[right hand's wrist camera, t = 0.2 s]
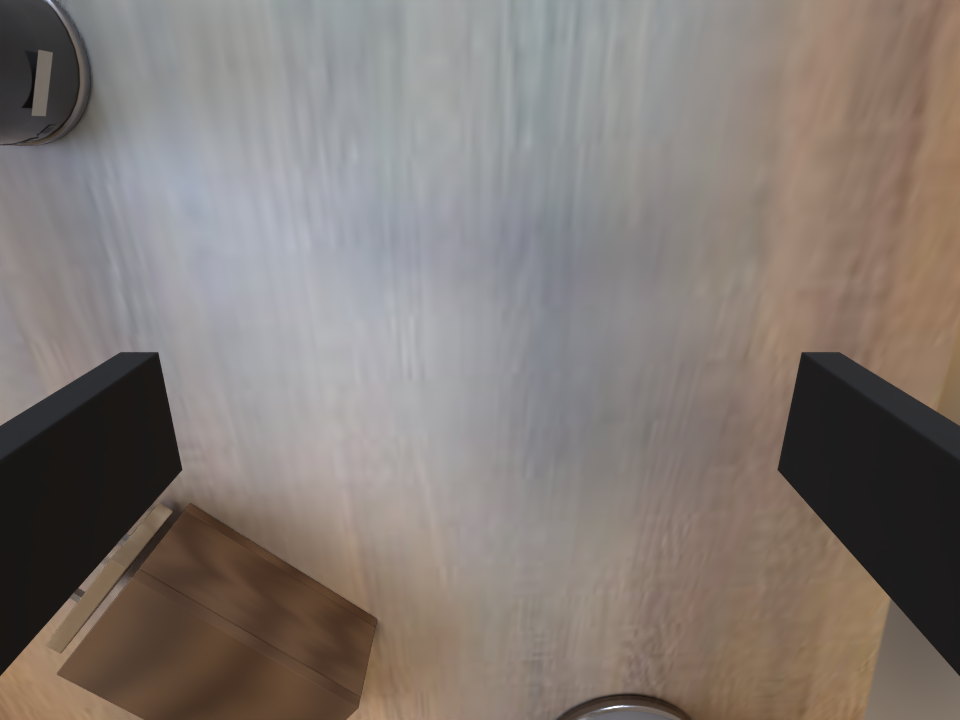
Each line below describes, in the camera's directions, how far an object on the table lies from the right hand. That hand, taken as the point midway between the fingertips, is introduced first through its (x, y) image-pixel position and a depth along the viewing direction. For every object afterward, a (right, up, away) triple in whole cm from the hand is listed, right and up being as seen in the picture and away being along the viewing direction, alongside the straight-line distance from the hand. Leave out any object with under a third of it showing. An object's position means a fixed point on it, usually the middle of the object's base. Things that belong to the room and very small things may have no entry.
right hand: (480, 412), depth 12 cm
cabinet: (-19, -19, +37) cm, 46 cm away
